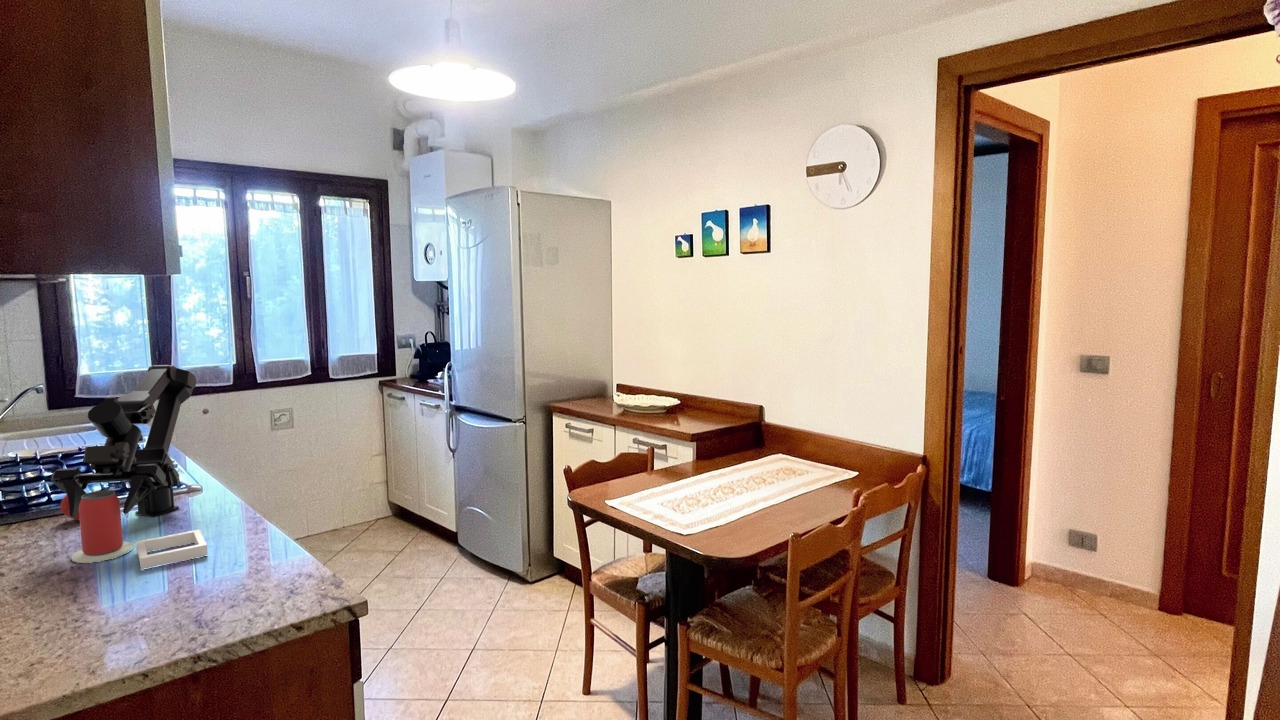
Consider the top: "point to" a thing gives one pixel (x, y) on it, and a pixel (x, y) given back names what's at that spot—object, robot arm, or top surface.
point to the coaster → (83, 558)
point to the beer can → (100, 523)
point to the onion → (67, 508)
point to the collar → (171, 555)
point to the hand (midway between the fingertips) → (98, 514)
